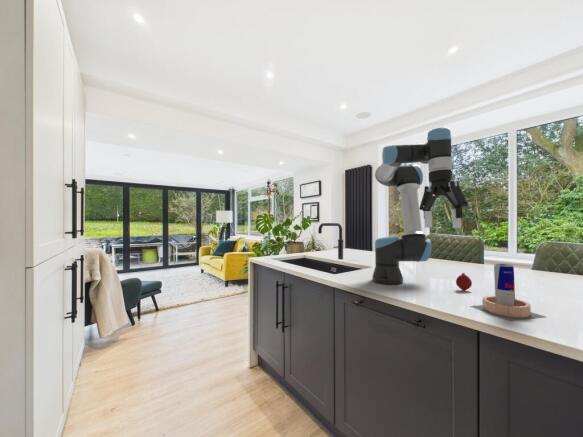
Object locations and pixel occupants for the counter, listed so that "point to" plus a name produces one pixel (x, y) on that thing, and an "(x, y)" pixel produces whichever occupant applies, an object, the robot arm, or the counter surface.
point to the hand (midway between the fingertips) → (441, 227)
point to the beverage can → (504, 284)
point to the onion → (463, 282)
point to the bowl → (507, 308)
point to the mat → (532, 316)
